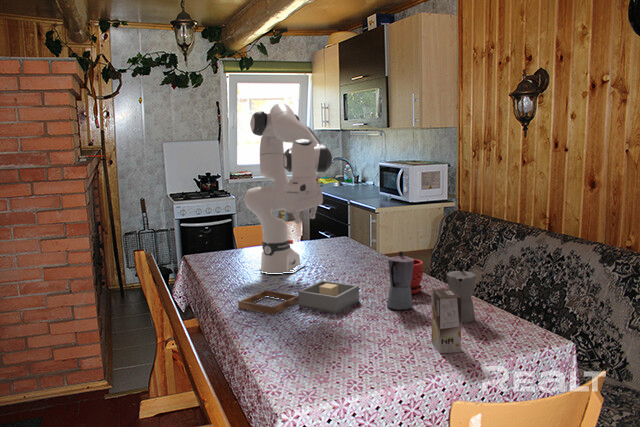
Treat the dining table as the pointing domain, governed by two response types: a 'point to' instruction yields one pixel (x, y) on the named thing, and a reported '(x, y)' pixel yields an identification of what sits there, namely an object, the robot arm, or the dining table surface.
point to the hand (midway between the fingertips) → (305, 220)
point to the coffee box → (446, 320)
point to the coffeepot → (463, 291)
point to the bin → (328, 298)
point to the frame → (249, 305)
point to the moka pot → (400, 282)
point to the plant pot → (416, 276)
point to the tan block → (329, 289)
